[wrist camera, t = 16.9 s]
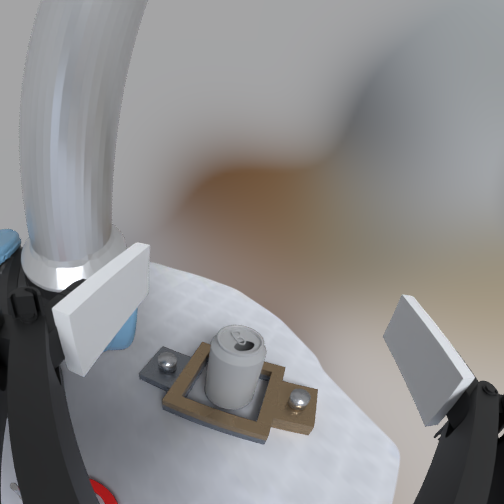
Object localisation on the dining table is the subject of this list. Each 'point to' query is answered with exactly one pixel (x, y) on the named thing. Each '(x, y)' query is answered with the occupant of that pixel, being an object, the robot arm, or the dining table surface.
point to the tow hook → (97, 487)
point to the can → (234, 366)
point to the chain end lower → (165, 374)
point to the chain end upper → (272, 410)
